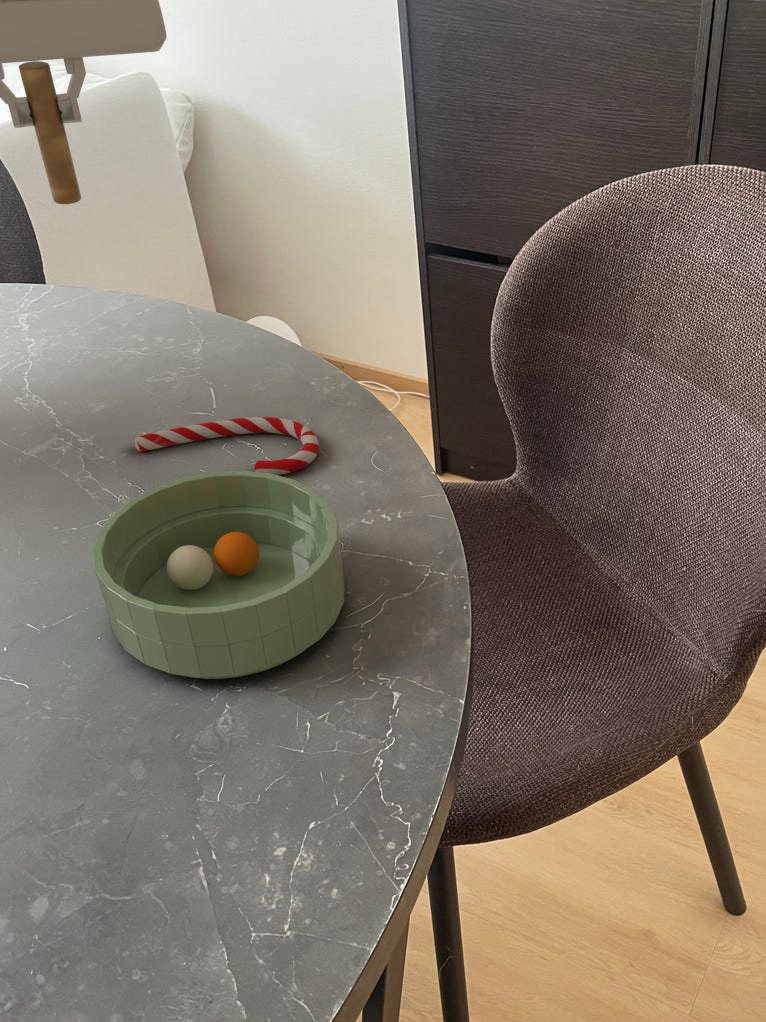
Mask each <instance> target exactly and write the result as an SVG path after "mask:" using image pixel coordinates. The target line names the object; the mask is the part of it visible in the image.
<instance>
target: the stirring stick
mask: <svg viewBox="0 0 766 1022" xmlns="http://www.w3.org/2000/svg"><path fill="white" fill-rule="evenodd" d="M18 70H19V74H20V77H21V81H22V85H23V89H24V93H25V97H27V100H28V103H29V107H30V112H31V116H32V119H33V123H34V126H33V127H34V131H35V135H36V138H37V143H38V146H39V150H40V154H41V158H42V162H43V166H44V169H45V174H46V177H47V181H48V185H49V188H50V192H51V196H52V200H53V203H55V204H58V205H71V204H76V203H78V202H80V201H81V200H82V195H81V189H80V186H79V182H78V177H77V173H76V170H75V166H74V161H73V157H72V153H71V149H70V145H69V140H68V135H67V133H66V128H65V123H64V124H63V122H62V118H61V111H60V110H59V105H58V101H57V95H56V94H57V92H56V88H55V87H56V86H55V83H54V78H53V75H52V70H51V67H50V64H49V63H48V62H47V61H42V60H40V61H27V62H22V63H21V64H19V65H18Z"/></svg>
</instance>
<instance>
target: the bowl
mask: <svg viewBox="0 0 766 1022" xmlns="http://www.w3.org/2000/svg"><path fill="white" fill-rule="evenodd" d="M231 532H242V533H245V534H247V535H249V536H250V537H251V538H253V540H254V541H255V542H256V544H257V546H258V549H259V560H258V563H257V565H256V566H255V568H254V569H253V570H252V571H251V572H249V573H247V574H245V575H242V576H232V575H229V574H227V573H225V572H223V571H222V570H221V569H220V568H219V567H218V565H217V564H216V561H215V558H214V549H215V546H216V543H217V542H218V540H219V539H220V538H221V537H222V536H224V535H225V534H227V533H231ZM340 539H341V538H340V531H339V522H338V518H337V517H336V515H335V513H334V511H333V508H332V506H331V505H330V503H328V501H327V500H326V499H325V498H324V497H322V496H321V494H319V493H318V491H316V490H315V489H313V488H311V487H309V486H307V485H306V484H303V483H301V482H299V481H297V480H295V479H293V478H289V477H285V476H281V475H274V474H270V473H262V472H255V471H252V470H226V471H222V470H221V471H211V472H205V473H199V474H195V475H190V476H184V477H180V478H178V479H175V480H172V481H169V482H166V483H163V484H160V485H157V486H154V487H152V488H151V489H149V490H147V491H145V492H142V493H141V494H139V495H137V496H135V497H133V498H132V499H130V500H129V501H128V502H126V503H124V505H122V506H121V507H120V508H119V509H117V510H116V511H115V512H113V513H112V514H111V515H110V516H109V518H108V519H107V520H106V522H105V523H104V524H103V526H101V528H100V530H99V531H98V533H97V535H96V538H95V541H94V545H93V548H92V553H91V555H92V561H93V568H94V573H95V576H96V580H97V583H98V586H99V588H100V592H101V595H102V599H103V601H104V606H105V608H106V611H107V614H108V618H109V621H110V625H111V628H112V631H113V634H114V635H115V638H116V639H117V640H118V641H119V644H120V645H121V646H122V648H123V649H124V650H125V652H127V653H128V654H130V655H131V656H132V657H134V658H135V659H136V660H138V661H139V662H141V663H142V664H143V665H146V666H148V667H150V668H154V669H156V670H159V671H162V672H164V673H167V674H171V675H176V676H180V677H181V676H182V677H186V678H192V679H203V680H223V679H224V680H225V679H233V678H240V677H245V676H250V675H254V674H258V673H261V672H265V671H267V670H270V669H272V668H276V667H278V666H281V665H282V664H285V663H287V662H288V661H290V660H292V659H294V658H296V657H297V656H298V655H300V654H302V653H303V652H305V651H306V650H307V649H309V648H310V647H311V646H313V645H314V644H316V643H317V642H319V641H320V640H321V639H322V638H323V637H324V636H325V634H326V633H327V632H328V631H329V630H330V629H331V628H332V626H333V625H334V624H335V623H336V621H337V619H338V616H339V615H340V612H341V610H342V607H343V605H344V602H345V577H344V568H343V561H342V559H343V558H342V549H341V541H340ZM186 545H193V546H197V547H200V548H202V549H203V550H205V551H206V552H207V553H208V554H209V556H210V557H211V559H212V562H213V574H212V577H211V579H210V580H209V582H208V583H207V584H206V585H204V586H203V587H201V588H199V589H196V590H185V589H182V588H180V587H178V586H176V585H175V584H174V583H173V582H172V581H171V580H170V578H169V576H168V573H167V562H168V559H169V557H170V555H171V554H172V553H173V552H174V551H175V550H176V549H178V548H179V547H182V546H186Z"/></svg>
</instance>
